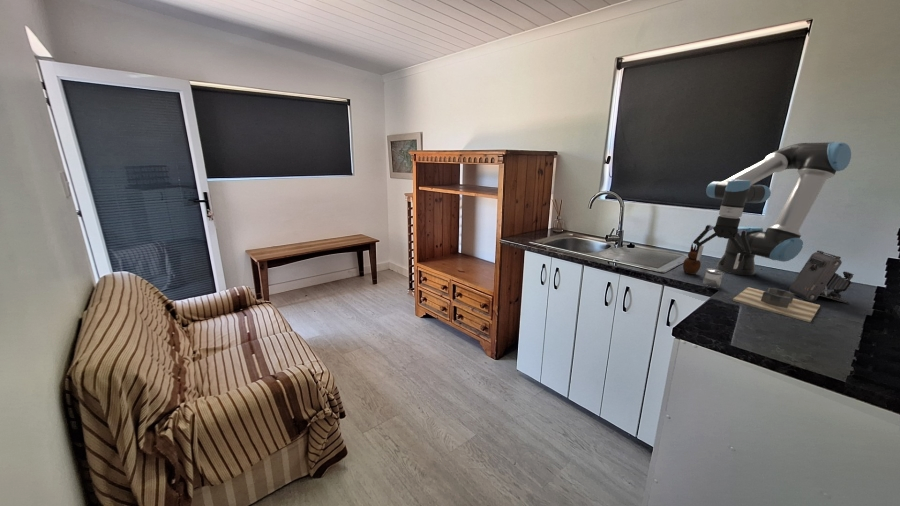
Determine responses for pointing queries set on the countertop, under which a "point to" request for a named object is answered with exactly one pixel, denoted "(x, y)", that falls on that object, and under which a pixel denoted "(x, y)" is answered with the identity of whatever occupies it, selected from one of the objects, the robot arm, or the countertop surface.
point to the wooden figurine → (691, 262)
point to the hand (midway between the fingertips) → (716, 264)
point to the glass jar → (713, 277)
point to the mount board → (794, 309)
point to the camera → (821, 278)
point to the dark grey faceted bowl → (777, 297)
